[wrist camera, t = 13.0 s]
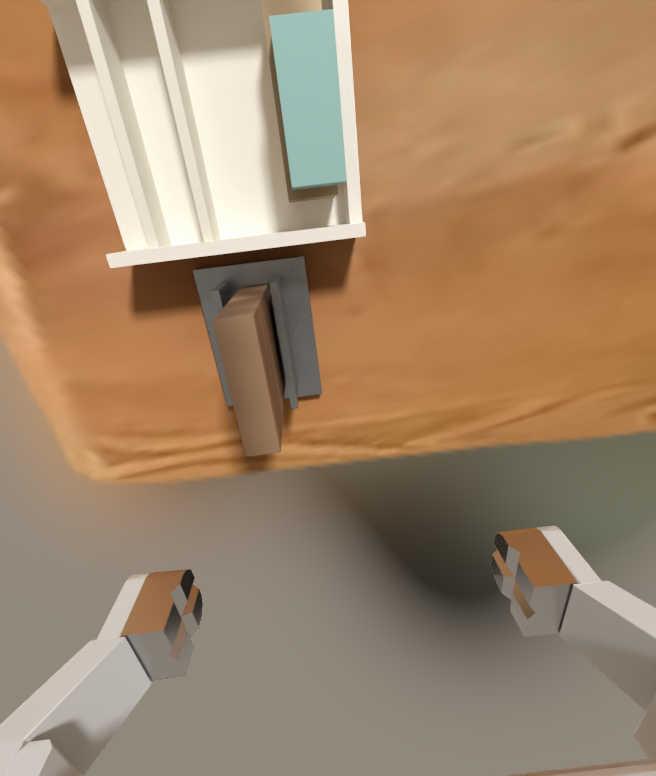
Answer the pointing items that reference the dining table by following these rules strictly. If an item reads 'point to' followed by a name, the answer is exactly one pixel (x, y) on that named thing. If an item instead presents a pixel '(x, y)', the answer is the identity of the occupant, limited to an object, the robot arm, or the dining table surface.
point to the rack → (196, 127)
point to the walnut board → (253, 368)
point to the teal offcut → (309, 97)
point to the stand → (287, 309)
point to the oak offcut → (279, 3)
